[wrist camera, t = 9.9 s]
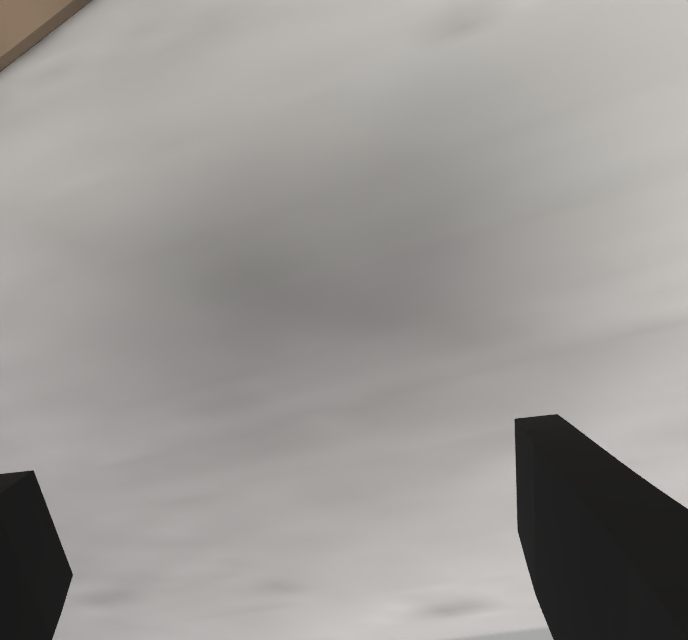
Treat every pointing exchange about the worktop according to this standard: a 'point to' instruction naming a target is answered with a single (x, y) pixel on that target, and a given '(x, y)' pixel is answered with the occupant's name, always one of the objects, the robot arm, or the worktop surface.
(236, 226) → the worktop surface
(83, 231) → the worktop surface
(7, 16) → the holder
